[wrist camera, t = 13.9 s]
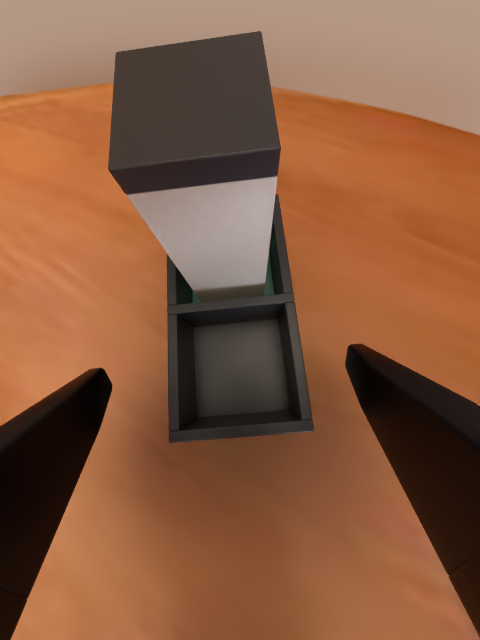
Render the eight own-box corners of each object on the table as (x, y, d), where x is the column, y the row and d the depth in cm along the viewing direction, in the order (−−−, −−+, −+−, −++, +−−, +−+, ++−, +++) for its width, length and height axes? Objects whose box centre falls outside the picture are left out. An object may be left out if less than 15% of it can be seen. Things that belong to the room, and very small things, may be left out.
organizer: (298, 417, 16) (314, 431, 12) (190, 426, 17) (168, 443, 12) (273, 233, 20) (278, 193, 16) (184, 243, 20) (166, 206, 16)
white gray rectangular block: (264, 301, 18) (284, 147, 6) (203, 307, 18) (104, 169, 6) (257, 246, 19) (263, 25, 7) (200, 252, 19) (112, 47, 7)
